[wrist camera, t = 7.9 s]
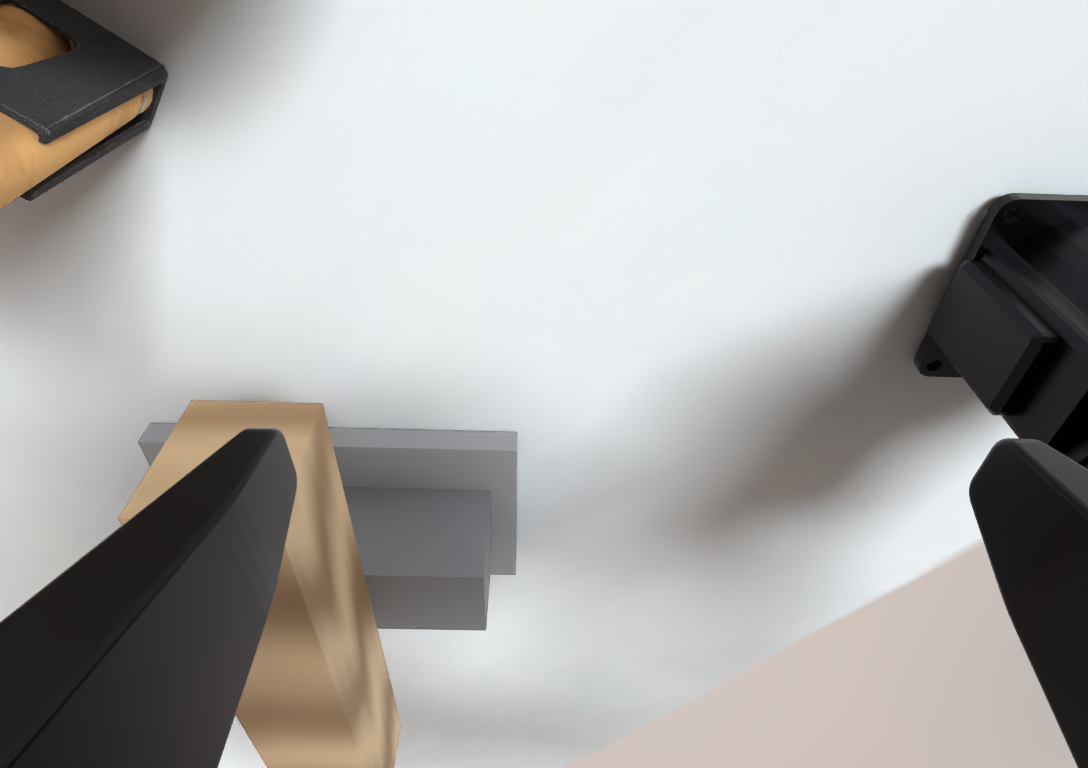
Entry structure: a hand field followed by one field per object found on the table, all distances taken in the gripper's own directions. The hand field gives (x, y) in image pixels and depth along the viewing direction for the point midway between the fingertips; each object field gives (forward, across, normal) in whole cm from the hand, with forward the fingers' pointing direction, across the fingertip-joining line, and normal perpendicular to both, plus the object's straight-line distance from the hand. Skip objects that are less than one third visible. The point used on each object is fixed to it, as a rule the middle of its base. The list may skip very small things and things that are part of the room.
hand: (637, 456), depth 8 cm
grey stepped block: (+12, +9, +16) cm, 22 cm away
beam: (+8, +9, +16) cm, 20 cm away
